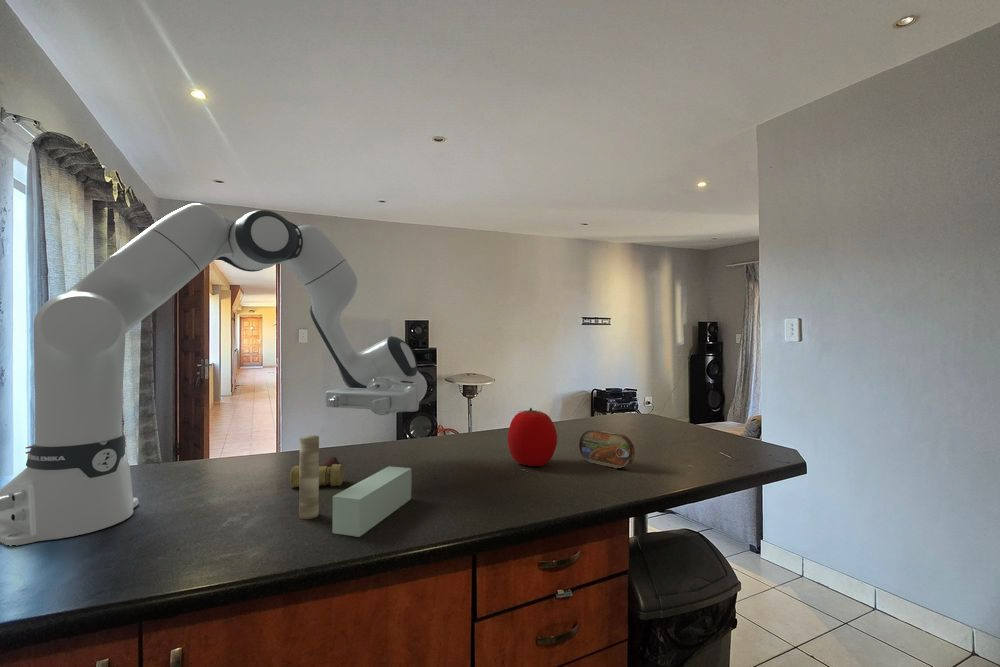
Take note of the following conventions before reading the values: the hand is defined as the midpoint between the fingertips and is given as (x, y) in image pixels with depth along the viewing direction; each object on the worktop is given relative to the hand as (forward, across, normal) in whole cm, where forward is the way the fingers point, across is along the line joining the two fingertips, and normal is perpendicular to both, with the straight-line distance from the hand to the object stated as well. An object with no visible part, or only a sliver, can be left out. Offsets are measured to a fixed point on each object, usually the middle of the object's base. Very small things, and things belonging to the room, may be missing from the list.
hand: (350, 404), depth 95 cm
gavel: (-10, -13, +19) cm, 25 cm away
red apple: (-32, +31, +19) cm, 48 cm away
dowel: (+12, 0, +18) cm, 22 cm away
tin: (-37, +49, +19) cm, 64 cm away
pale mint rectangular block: (+8, +11, +18) cm, 23 cm away
